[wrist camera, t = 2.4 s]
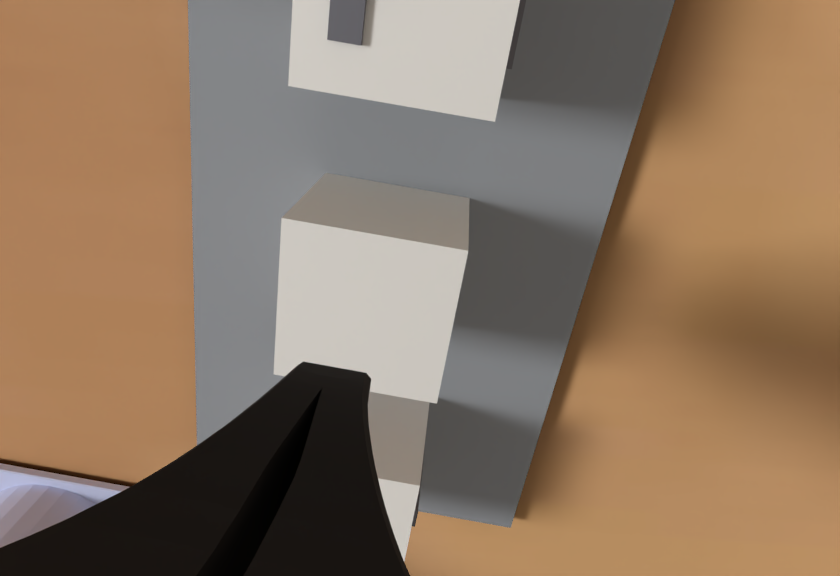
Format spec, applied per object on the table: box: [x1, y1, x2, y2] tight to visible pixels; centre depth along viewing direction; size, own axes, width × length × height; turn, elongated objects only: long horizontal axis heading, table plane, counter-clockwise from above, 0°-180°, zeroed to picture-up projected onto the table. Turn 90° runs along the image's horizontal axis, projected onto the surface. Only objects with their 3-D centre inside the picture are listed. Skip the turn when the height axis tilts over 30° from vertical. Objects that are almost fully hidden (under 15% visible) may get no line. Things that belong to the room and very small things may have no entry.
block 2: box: [368, 392, 430, 561], centre depth 20 cm, size 4×5×5 cm
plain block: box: [274, 173, 470, 404], centre depth 16 cm, size 4×4×4 cm
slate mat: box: [188, 0, 675, 528], centre depth 19 cm, size 22×13×1 cm, turn 171°
